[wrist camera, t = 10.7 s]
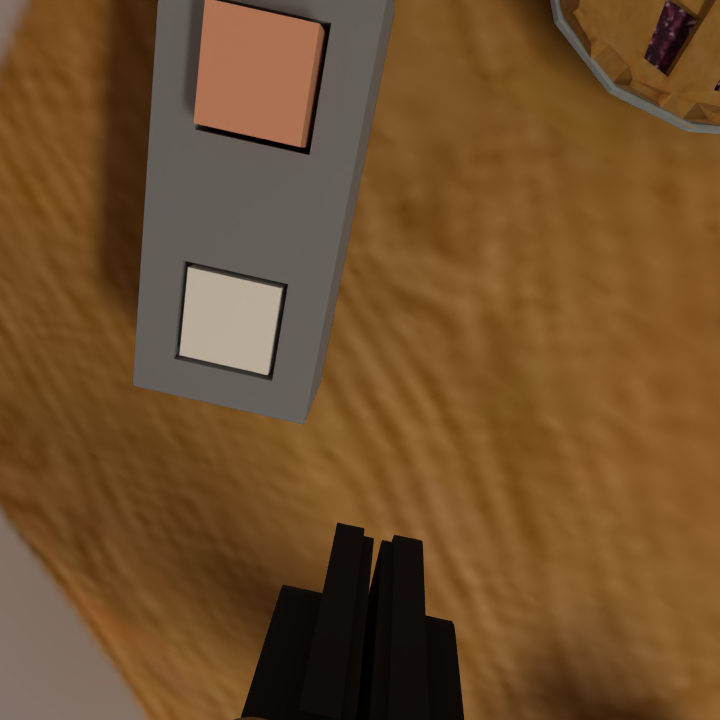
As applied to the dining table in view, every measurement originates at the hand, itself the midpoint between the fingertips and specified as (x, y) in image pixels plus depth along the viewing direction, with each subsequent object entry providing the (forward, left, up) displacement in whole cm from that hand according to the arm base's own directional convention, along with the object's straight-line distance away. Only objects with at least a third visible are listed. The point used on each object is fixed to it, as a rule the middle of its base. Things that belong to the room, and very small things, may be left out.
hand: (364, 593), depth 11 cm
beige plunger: (-2, +8, -26) cm, 27 cm away
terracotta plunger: (+10, +8, -24) cm, 28 cm away
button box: (+4, +8, -26) cm, 27 cm away
